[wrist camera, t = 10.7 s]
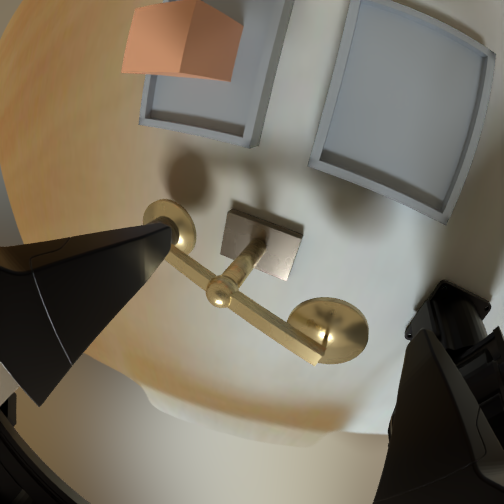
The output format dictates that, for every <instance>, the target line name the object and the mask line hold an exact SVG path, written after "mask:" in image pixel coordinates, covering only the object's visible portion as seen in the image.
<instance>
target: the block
mask: <svg viewBox="0 0 504 504" xmlns="http://www.w3.org/2000/svg"><path fill="white" fill-rule="evenodd" d="M243 27H244V26H243V25H241V24H240V23H238V22H237V21H235V20H233V19H232V18H230V17H229V16H227V15H225V14H224V13H222V12H220V11H219V10H217V9H215V8H214V7H212V6H210V5H208V4H206V3H205V2H203V1H201V0H180V1H172V2H166V3H160V4H155V5H150V6H145V7H140V8H136V9H135V12H134V16H133V20H132V23H131V27H130V32H129V36H128V40H127V45H126V50H125V55H124V60H123V65H122V71H121V73H135V74H152V75H164V76H174V77H186V78H199V79H210V80H219V81H227V82H231V78H232V73H233V69H234V64H235V60H236V56H237V52H238V47H239V43H240V39H241V35H242V31H243Z"/></svg>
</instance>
